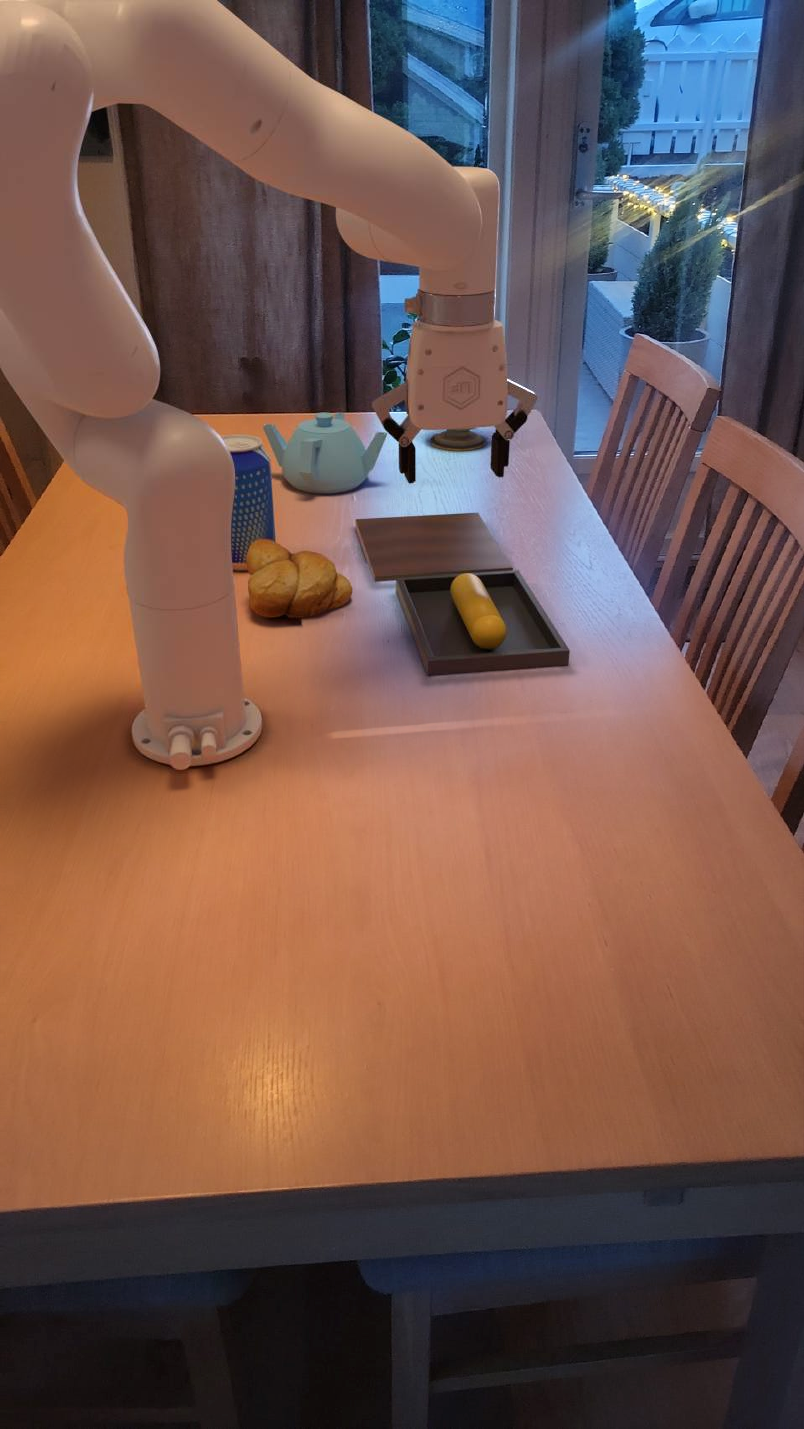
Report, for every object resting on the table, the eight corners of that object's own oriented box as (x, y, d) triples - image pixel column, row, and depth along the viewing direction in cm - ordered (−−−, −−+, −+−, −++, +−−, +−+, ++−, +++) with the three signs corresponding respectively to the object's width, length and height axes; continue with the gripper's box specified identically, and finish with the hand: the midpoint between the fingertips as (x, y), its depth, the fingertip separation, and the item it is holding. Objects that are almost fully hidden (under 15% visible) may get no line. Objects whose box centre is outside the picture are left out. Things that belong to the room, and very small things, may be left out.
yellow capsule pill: (509, 654, 114) (511, 622, 112) (473, 657, 113) (475, 624, 111) (478, 597, 126) (480, 567, 124) (447, 599, 126) (447, 568, 124)
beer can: (217, 576, 133) (205, 454, 125) (210, 551, 140) (198, 434, 131) (281, 569, 135) (274, 449, 126) (271, 545, 142) (263, 430, 133)
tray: (567, 671, 112) (570, 650, 111) (427, 682, 110) (428, 661, 109) (517, 588, 130) (518, 569, 129) (395, 596, 128) (396, 577, 127)
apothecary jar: (417, 434, 186) (419, 330, 177) (482, 431, 188) (486, 328, 179) (431, 454, 176) (433, 346, 167) (499, 451, 178) (505, 343, 169)
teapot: (261, 475, 167) (257, 409, 161) (343, 460, 173) (341, 396, 168) (305, 504, 156) (301, 433, 150) (389, 487, 162) (389, 418, 157)
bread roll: (355, 593, 129) (353, 533, 125) (349, 628, 121) (347, 565, 116) (252, 591, 129) (248, 531, 125) (240, 626, 121) (234, 563, 117)
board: (512, 578, 133) (513, 567, 132) (374, 587, 130) (374, 576, 130) (477, 522, 150) (478, 512, 149) (355, 528, 147) (355, 519, 146)
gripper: (376, 320, 97) (379, 493, 106) (552, 312, 100) (540, 482, 109) (365, 305, 103) (369, 470, 113) (531, 298, 106) (521, 460, 115)
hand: (453, 476), depth 111 cm, fingers open, 9 cm apart
